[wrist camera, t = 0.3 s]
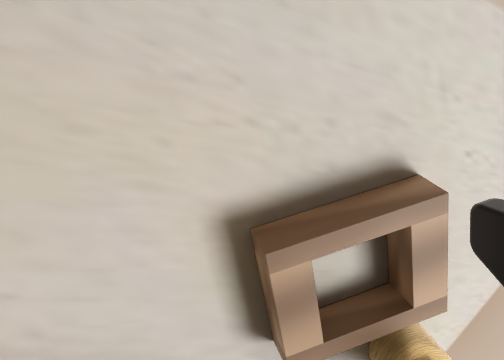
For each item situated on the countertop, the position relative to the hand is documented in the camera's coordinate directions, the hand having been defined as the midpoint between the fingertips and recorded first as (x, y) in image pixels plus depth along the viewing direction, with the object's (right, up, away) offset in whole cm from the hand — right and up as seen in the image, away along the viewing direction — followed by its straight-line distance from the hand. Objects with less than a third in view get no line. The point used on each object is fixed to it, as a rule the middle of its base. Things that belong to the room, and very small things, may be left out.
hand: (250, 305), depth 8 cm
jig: (+5, -2, +19) cm, 20 cm away
